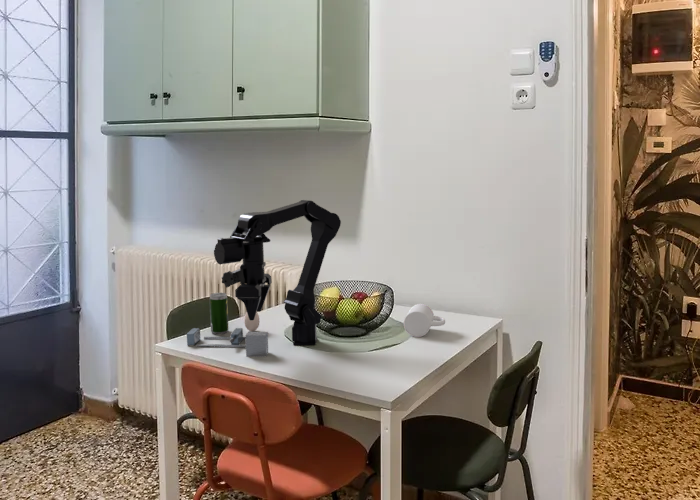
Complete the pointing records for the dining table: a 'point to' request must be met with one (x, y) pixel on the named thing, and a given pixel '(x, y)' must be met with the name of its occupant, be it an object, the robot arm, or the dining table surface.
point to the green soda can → (218, 313)
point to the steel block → (256, 343)
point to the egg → (251, 322)
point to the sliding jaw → (236, 336)
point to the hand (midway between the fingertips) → (255, 315)
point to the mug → (421, 320)
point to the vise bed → (194, 337)
